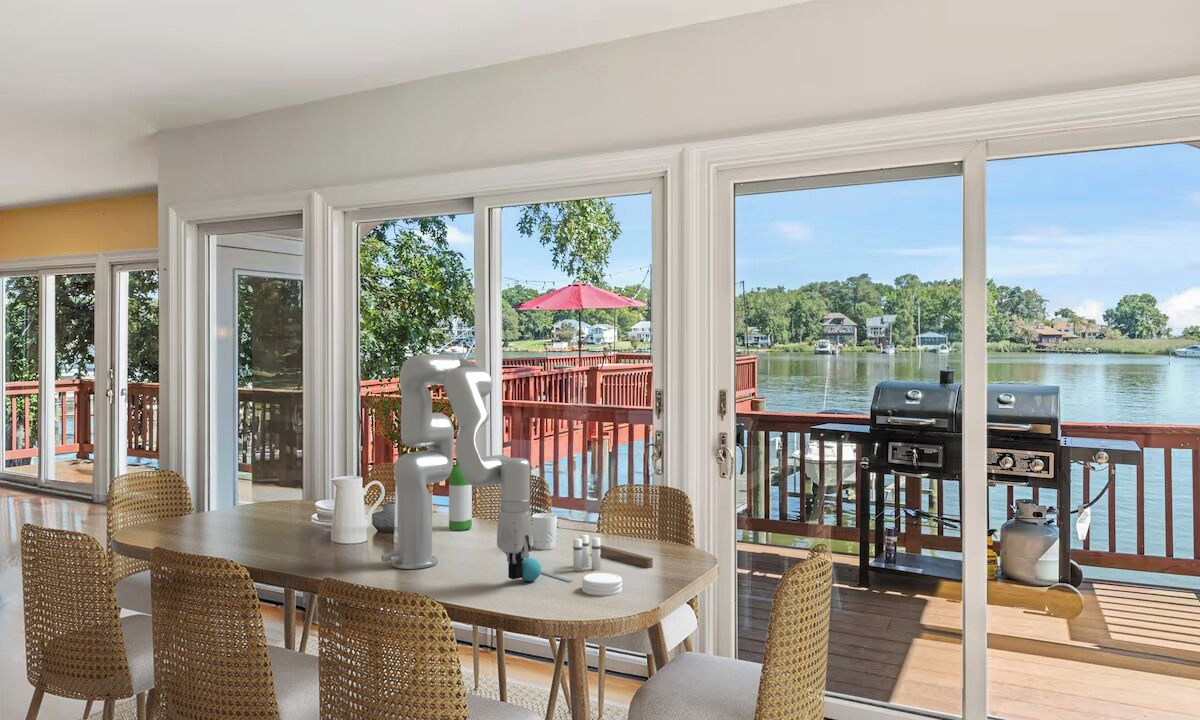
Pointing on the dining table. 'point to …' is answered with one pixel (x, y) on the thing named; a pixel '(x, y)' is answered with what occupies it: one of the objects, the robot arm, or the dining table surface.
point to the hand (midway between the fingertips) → (515, 577)
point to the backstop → (626, 557)
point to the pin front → (577, 554)
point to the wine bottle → (459, 500)
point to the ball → (530, 569)
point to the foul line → (556, 577)
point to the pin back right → (596, 553)
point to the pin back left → (585, 550)
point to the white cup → (544, 530)
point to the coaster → (602, 584)
